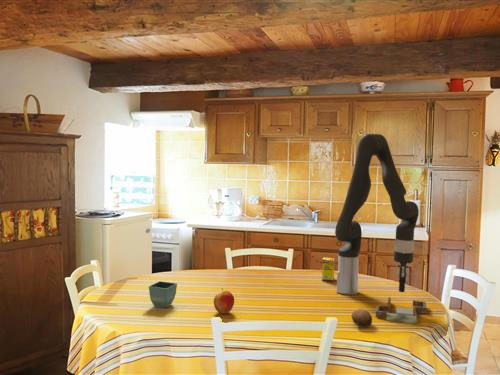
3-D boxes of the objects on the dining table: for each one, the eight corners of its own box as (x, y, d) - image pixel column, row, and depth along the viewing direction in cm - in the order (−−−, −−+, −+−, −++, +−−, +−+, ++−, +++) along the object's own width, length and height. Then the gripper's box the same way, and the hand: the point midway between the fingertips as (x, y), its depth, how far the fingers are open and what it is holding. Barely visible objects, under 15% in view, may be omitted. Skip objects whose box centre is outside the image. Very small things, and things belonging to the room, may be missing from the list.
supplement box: (333, 281, 226) (334, 260, 225) (321, 281, 227) (322, 259, 226) (333, 278, 231) (334, 258, 231) (322, 278, 233) (322, 257, 232)
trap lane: (375, 318, 173) (375, 312, 173) (378, 302, 194) (378, 296, 194) (428, 325, 167) (428, 318, 167) (425, 307, 188) (425, 301, 188)
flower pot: (177, 303, 188) (177, 283, 188) (167, 310, 180) (167, 288, 179) (159, 301, 191) (159, 280, 191) (148, 307, 183) (148, 286, 182)
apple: (226, 318, 172) (226, 292, 172) (209, 314, 177) (209, 289, 176) (238, 312, 179) (238, 287, 178) (221, 308, 183) (221, 284, 183)
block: (395, 321, 172) (396, 312, 172) (396, 316, 177) (396, 307, 177) (412, 323, 170) (412, 314, 170) (412, 317, 176) (412, 309, 175)
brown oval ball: (346, 312, 171) (354, 302, 168) (365, 319, 172) (373, 309, 169) (348, 328, 164) (356, 318, 161) (367, 336, 165) (376, 326, 162)
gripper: (394, 246, 189) (392, 285, 191) (394, 252, 177) (391, 295, 178) (413, 247, 187) (410, 288, 189) (414, 254, 175) (411, 297, 176)
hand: (401, 291), depth 183 cm, fingers closed
